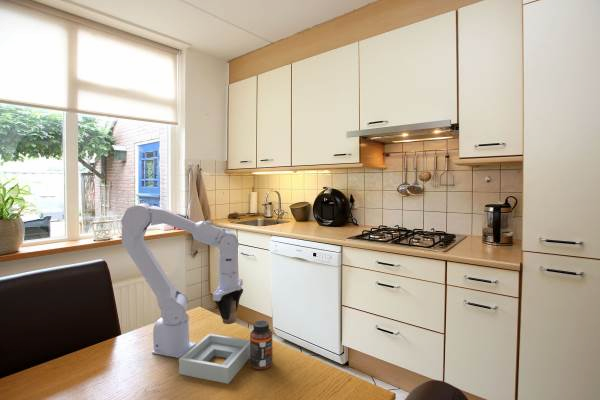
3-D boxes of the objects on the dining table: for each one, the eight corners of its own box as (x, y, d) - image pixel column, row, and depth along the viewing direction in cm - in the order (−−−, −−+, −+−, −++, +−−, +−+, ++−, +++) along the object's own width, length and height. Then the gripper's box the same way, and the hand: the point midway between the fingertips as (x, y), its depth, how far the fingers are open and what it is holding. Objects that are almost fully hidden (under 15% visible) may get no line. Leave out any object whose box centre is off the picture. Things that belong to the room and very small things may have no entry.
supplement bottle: (268, 372, 83) (268, 329, 83) (246, 369, 85) (246, 327, 84) (275, 359, 89) (274, 319, 89) (254, 357, 90) (254, 317, 90)
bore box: (179, 374, 83) (178, 358, 82) (209, 346, 96) (209, 333, 96) (228, 383, 79) (227, 368, 78) (252, 353, 92) (252, 340, 92)
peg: (220, 323, 97) (219, 303, 96) (226, 317, 101) (226, 298, 100) (232, 324, 96) (231, 305, 95) (238, 319, 100) (238, 300, 99)
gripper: (228, 280, 89) (229, 327, 90) (251, 266, 103) (251, 308, 104) (205, 277, 91) (206, 324, 92) (231, 264, 105) (231, 305, 106)
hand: (229, 315), depth 98 cm, fingers closed on peg, 4 cm apart
